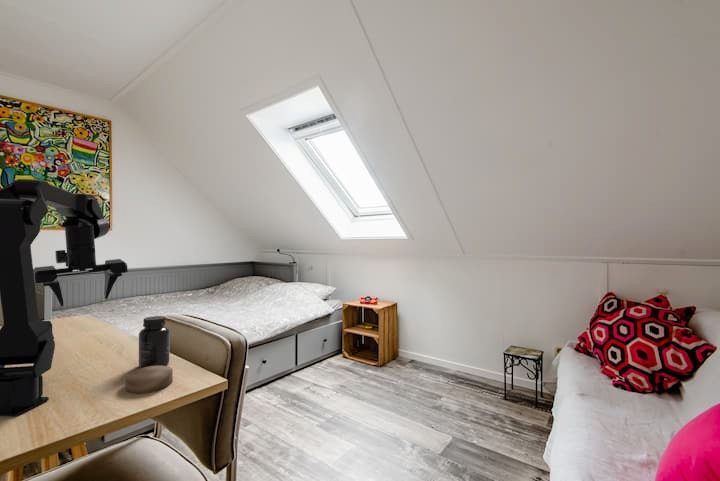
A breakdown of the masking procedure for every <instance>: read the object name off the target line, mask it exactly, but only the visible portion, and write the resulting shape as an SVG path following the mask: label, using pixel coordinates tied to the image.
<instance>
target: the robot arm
mask: <svg viewBox="0 0 720 481" xmlns="http://www.w3.org/2000/svg"><path fill="white" fill-rule="evenodd" d="M48 207H52V208H54V209H55V212H56V213H58V214H59V215H60V216H62V217H64V218H65V220H64V221H63V222H62V223H61V225H60V226H61V228H64V235H65V245H66V246H65V247H66V248H65V249H66V250H65V249H61V250H55V262H56V264H65V267H64V268H55V266H54V265H47V266H46V265H45V266H39V267H38V266H37V267H34V266H33V258H32V257H33V256H32V247H31V245H32V244H33V242H34V241H35V240H36V238H37V237H38V236H39V233H40V232H41V222H42V221H43V220H44V218H45V216H46V215H47V214H48V213H49V210H50V209H49V208H48ZM109 232H110V224H109V223H108V221H107V220H106V219H105V216H104V214H103V211H102V208H101V206H100V204H99V201H98V199H96V197H95V195H93V194H91V193H80V192H79V193H77V192H76V193H74V192H71V191H68V190H66V189H64V188H61V187H59V186H56V185H53V184H51V183H49V182H48V181H47V180H46V181H45V180H43V179H36V178H35V179H33V178H18V179H15V180H14V179H13V181H11V182H10V184H9V185H7V186H5V187H3V188H0V308H1V314H2V323H3V324H2V325H1V327H0V416H20V415H21V414H24V413H26V412H28V411H30V410H32V409H33V408H35V407H38V406H39V405H41V404H43V403H46V402H47V401H49V400H50V397H49V396H43V395H44V393H43V391H44V390H43V388H44V387H43V382H44V381H43V380H44V379H43V377H44V376H43V375H44V374H45V373H47V372H48V371H50V370H51V368H52V364H53V358H54V353H55V349H56V348H55V347H56V341H55V337H54V333H53V324H52V322H51V321H50V320H43V319H42V318H41V317H40V316H39V311H38V303H37V294H36V293H37V292H36V284H42V286H44V287H47V286H48V287H49V288H50V289H51V291H52V292H53V293H54V295H55V297H56V298H57V300H58V302H59V305H60V307H64V299H63V294H62V289H61V285H60V281H58V279H57V278H59V277H66V276H73V275H83V274H90V273H91V274H92V273H99V272H104V286H103V287H104V290H103V293H104V299H105V300H108V298H109V296H110V293H111V290H112V288H113V286H114V284H115V283H116V281H117V279H118V278H119V277H122V276H123V274H124V273H125V274H127V273H128V264H127V262H125V261H124V260H122V259H121V258H116V259H115V258H114V259H107V260H105V262H104V263H102V264H97V262H96V261H97V260H96V258H97V257H96V245H95V240H96V239H98V238H101V237H104V236H105V235H107V234H108V233H109ZM29 364H30V365H29ZM32 364H33V365H32ZM17 365H24V366H17ZM6 366H8V367H6Z"/></svg>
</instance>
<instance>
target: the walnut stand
mask: <svg viewBox="0 0 720 481" xmlns="http://www.w3.org/2000/svg"><path fill="white" fill-rule="evenodd" d="M173 374H174V372H173V368H172V367H171V366H168V365H166V366H149V367H144V368H140V367H139V368H136V369H134V370H132V371H131V372H128V373H127V374H126V375H125V384H124V385H125V391H126V392H127V393H130V394H148V393H153V392H157V391H161V390H163V389H165V388H168V387H169V386H170V385H171V384H173V379H174V375H173Z"/></svg>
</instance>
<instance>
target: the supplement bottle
mask: <svg viewBox="0 0 720 481" xmlns="http://www.w3.org/2000/svg"><path fill="white" fill-rule="evenodd" d="M142 320H143V321H142V322H143V324H142V326H143V327H144V328H142V329H141V330H140V331H139V333H138V367H139V369H140V368H144V367H149V366H168V364H169V363H170V355H171V353H170V345H171V344H170V342H171V340H170V335H171V334H170V329H169V328H168V327H167V326H165V325H166V317H165V316H162V315H156V316H149V317H145V318H143V319H142Z"/></svg>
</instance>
